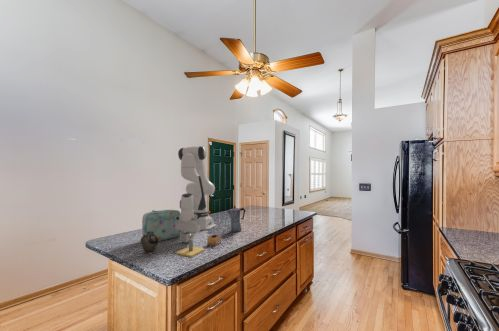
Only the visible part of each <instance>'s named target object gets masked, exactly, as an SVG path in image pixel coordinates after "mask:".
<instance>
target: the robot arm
mask: <svg viewBox="0 0 499 331" xmlns="http://www.w3.org/2000/svg"><path fill="white" fill-rule="evenodd" d="M177 154H178V155H177V156H178V159H179V160H180V161H181V163H180V174H181V177H182V178H183V179H185V180H187V181H190V182H189V183H187V185H186V186H185V191H186V193H182V194H181V196H180V197H181V198H180V200H179V208H180V214H181V215H179V216H176V217H175V219H176V221H175V229H176V230H181V233H183V232H186V231H188V232H191V234H192V235H191V236H190V238H193V235H194V234H197V233H200V232H201V231H207V230H212V229H213V228H215V227H216V226H217V224H216V223H214V222H215V221H214V219H213V217H212V216H210V215H209V214H211V211H210V210H209V211H208V203H207V199H206V196H212V195H213V194H214V193H215V192H216V187H215V184H214V183H213V182H211V181H210V179H209V178H208V176H207V174H206V169H205V161H204V160H205V159H206V157H207V150H206V148H205V147H204V146H188V147H182V148H180V149H178V152H177Z"/></svg>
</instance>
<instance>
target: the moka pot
mask: <svg viewBox="0 0 499 331" xmlns="http://www.w3.org/2000/svg"><path fill="white" fill-rule="evenodd" d="M241 211H243V214H242V217H241ZM227 213H228V215H229V216H230V221H231V222H230V231H231V232H233V233H237V232H241V231H242V225H241V220H244V218H245V213H246V209H245V208H244V207H239V208H237V207H236V205H234V206H233V208H231V209H228V210H227Z"/></svg>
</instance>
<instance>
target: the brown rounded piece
mask: <svg viewBox="0 0 499 331" xmlns="http://www.w3.org/2000/svg"><path fill="white" fill-rule="evenodd" d="M206 240H207V244H206V245H207V246H211V247H217V246H218V245H219V244H221V243H222V234H215V233H213V234H212V235H210V236H208V237H207V238H206Z"/></svg>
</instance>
